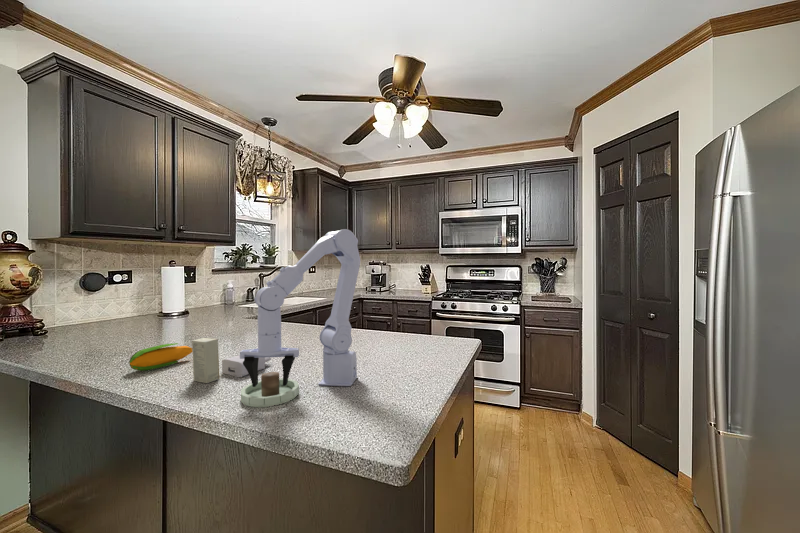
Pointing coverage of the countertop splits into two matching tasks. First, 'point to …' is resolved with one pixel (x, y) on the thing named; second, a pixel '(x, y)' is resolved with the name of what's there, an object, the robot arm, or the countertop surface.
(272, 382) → the walnut bead
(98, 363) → the countertop surface
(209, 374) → the skincare box
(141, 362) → the corn
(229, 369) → the charger
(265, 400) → the round tray
